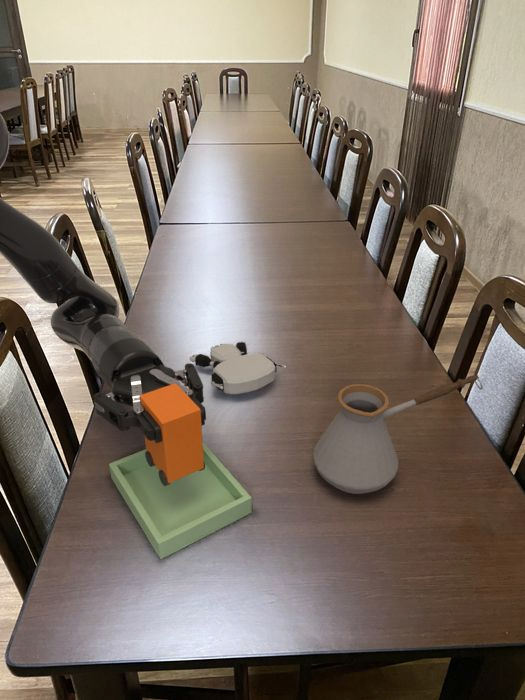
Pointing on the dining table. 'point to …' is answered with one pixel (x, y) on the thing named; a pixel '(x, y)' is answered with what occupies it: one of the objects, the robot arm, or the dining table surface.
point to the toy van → (174, 433)
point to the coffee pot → (365, 438)
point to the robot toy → (237, 368)
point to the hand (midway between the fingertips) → (181, 427)
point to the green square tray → (180, 501)
